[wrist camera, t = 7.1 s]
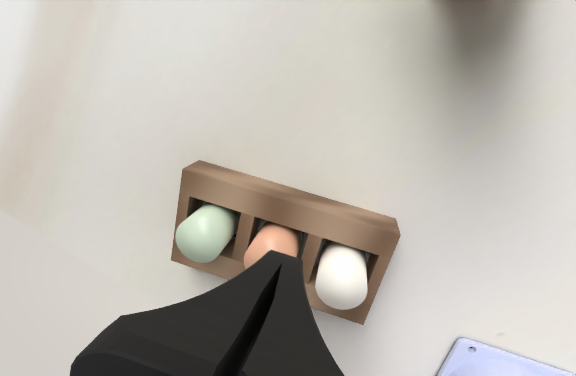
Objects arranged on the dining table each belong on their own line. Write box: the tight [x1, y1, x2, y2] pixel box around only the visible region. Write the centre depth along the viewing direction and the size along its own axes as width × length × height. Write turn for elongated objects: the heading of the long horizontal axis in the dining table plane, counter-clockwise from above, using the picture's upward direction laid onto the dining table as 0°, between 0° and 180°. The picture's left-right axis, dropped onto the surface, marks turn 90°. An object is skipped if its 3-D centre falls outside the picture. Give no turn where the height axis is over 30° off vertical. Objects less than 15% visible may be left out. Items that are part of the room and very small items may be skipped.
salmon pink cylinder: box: [244, 221, 302, 269], centre depth 21 cm, size 3×3×4 cm
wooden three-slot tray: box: [171, 160, 400, 325], centre depth 22 cm, size 14×7×2 cm, turn 76°
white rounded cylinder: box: [315, 240, 367, 310], centre depth 20 cm, size 3×3×4 cm
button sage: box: [175, 202, 241, 263], centre depth 21 cm, size 3×3×4 cm
